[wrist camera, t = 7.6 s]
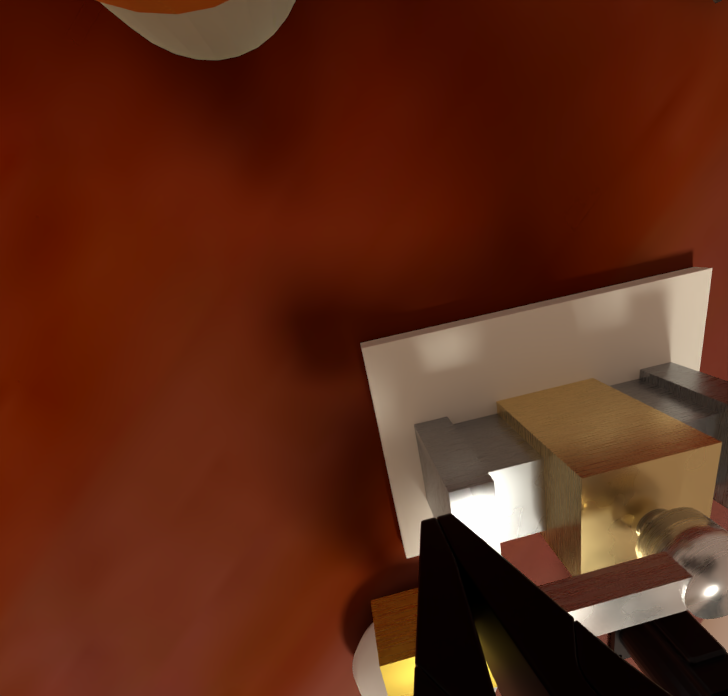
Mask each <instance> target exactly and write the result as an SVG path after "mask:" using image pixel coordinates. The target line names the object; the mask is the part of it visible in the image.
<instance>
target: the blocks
mask: <svg viewBox="0 0 728 696" xmlns="http://www.w3.org/2000/svg"><path fill="white" fill-rule="evenodd" d="M496 403H497V414H493V415H489V416H484V417H480V418H476V419H472V420H468V421H464V422H460V423H456V424H452V422H451V421H450V420H449V418H448V417H443V418H439V419H435V420H431V421H426V422H422V423H418V424H414V428H415V434H416V440H417V446H418V451H419V457H420V463H421V469H422V474H423V480H424V486H425V492H426V497H427V502H428V504H429V507H430V509H431V512H432V514H433V517H435V518H436V519H437V517H438V516H440V515H444V514H448V513H452V514H453V515H455V516H456V517H457V518H458V519H459V520H461V521H462V522H463V523H464V524H465V525H466V526H468V527H469V528H470V529H471V530H472V531H473V532H475V533H476V534H477V535H478V536H479V537H480V538H482V539H483V540H484V541H485V542H486V543H487V544H489V545H490V546H491V547H492V548H493V549H494V550H496V551H497V552H498V553H499V554H500V555H501V550H500V543H501V542H504V541H508V540H512V539H516V538H519V537H523V536H527V535H531V534H534V533H538V532H540V534H541V535H542V536H543V538H544V539H545V540H546V542H547V543H548V544H549V546H550V547H551V548H552V550H553V551H554V552H555V554H556V555H557V556H558V558H559V559H560V560H561V562H562V563H563V564H564V566H565V567H566V568H567V570H568V571H569V572H570V574H571V575H572V576H576V575H580V574H583V573H587V572H591V571H594V570H598V569H601V568H605V567H609V566H612V565H616V564H619V563H623V562H627V561H630V560H634V559H637V556H636V550H635V548H636V543H637V539H638V537H639V536H638V535H637V532H636V528H637V524H638V522H639V521H640V519H641V518H642V517H643V516H644V515H645V514H647V513H648V512H650V511H652V510H655V509H659V508H663V509H667V510H671V509H674V508H679V507H690V508H694V509H696V510H698V511H700V512H701V513H703V514H704V515H705V516H707V517H708V518H710V514H711V508H712V501H713V499H714V500H715V501H717V502H718V503H720V504H721V505H723V506H724V507H726V508H727V509H728V381H725V380H722V379H719V378H716V377H713V376H711V375H708V374H705V373H702V372H699V371H696V370H693V369H690V368H687V367H684V366H681V365H678V364H675V363H672V362H669V363H664V364H660V365H656V366H652V367H648V368H644V369H640V376H639V379H635V380H631V381H627V382H623V383H619V384H615V385H611V386H608V385H606V384H604V383H602V382H600V381H598V380H596V379H594V378H591V379H586V380H582V381H578V382H574V383H570V384H566V385H562V386H558V387H553V388H549V389H545V390H541V391H537V392H533V393H529V394H525V395H521V396H516V397H512V398H508V399H504V400H500V401H496Z"/></svg>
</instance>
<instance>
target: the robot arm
mask: <svg viewBox="0 0 728 696" xmlns="http://www.w3.org/2000/svg"><path fill="white" fill-rule="evenodd" d="M630 657H632V659H633V660H634V661H635V663H636V664H637V665H638V667H639V668H640V669H641V671H642V672H643V673H644V674H643V673H641V672H640V671H639V670H637V669H636V668H635V667H633V666H632V665H631V664H629V663H628V662H627V661H625V660H624V659H626V658H630ZM486 662H487V663H486ZM487 665H488V667H489V669H490V671H491V673H492V676H493V678H494V680H495V682H496V684H497V687H498V689H499V691H500V693H501V695H502V696H728V653H727V652H726V650H725V648H724V647H723V646H722V645H721V644H720V643H719V642H717V640H716V639H715V638H714V637H713V636H712V635H711V634H710V633H709V632H708V631H707V630H706V629H705V628H704V627H703V626H702V625H701V624H700V623H699V622H698V621H697V620H696V619H695V618H694V617H693V616H692V615H691V614H690V613H689V612H688V611H687V610H686V611H683V612H679V613H676V614H672V615H669V616H665V617H662V618H658V619H655V620H651V621H648V622H645V623H641V624H638V625H634V626H631V627H627V628H624V629H620V630H617V631H613V632H611V645H610V648H609V647H608V646H607V645H606V644H605V643H603V642H602V641H601V640H600V639H598V638H597V637H596V636H595V635H594V634H592V633H591V632H590V631H589V630H588V629H587V628H586V627H584V626H583V625H582V624H581V623H580V622H579V621H577V620H576V621H575V622H574V618H573V616H571V615H570V614H569V613H568V612H567V611H566V610H564V609H563V608H562V607H561V606H560V605H559V604H557V603H556V602H555V601H554V600H553V599H552V598H550V597H549V596H548V595H547V594H546V593H545V592H543V591H542V590H541V589H540V588H539V587H538V586H536V585H535V584H534V583H533V582H532V581H531V580H529V579H528V578H527V577H526V576H525V575H524V574H522V573H521V572H520V571H519V570H518V569H517V568H515V567H514V566H513V565H512V564H511V563H510V562H508V561H507V560H506V559H505V558H504V557H503V556H501V555H500V554H499V553H498V552H497V551H496V550H494V549H493V548H492V547H491V546H490V545H489V544H487V543H486V542H485V541H484V540H483V539H482V538H480V537H479V536H478V535H477V534H476V533H475V532H473V531H472V530H471V529H470V528H469V527H468V526H466V525H465V524H464V523H463V522H462V521H461V520H459V519H458V518H457V517H456V516H455V515H453V514H452V513H448V514H444V515H440V516H438V517H437V519H436V518H435V517H433V518H429V519H425V520H422V521H421V528H420V552H419V576H418V600H417V624H416V648H415V666H416V667H415V668H414V691H413V696H496V694H495V691H494V687H493V684H492V681H491V677H490V674H489V670H488V667H487Z"/></svg>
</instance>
